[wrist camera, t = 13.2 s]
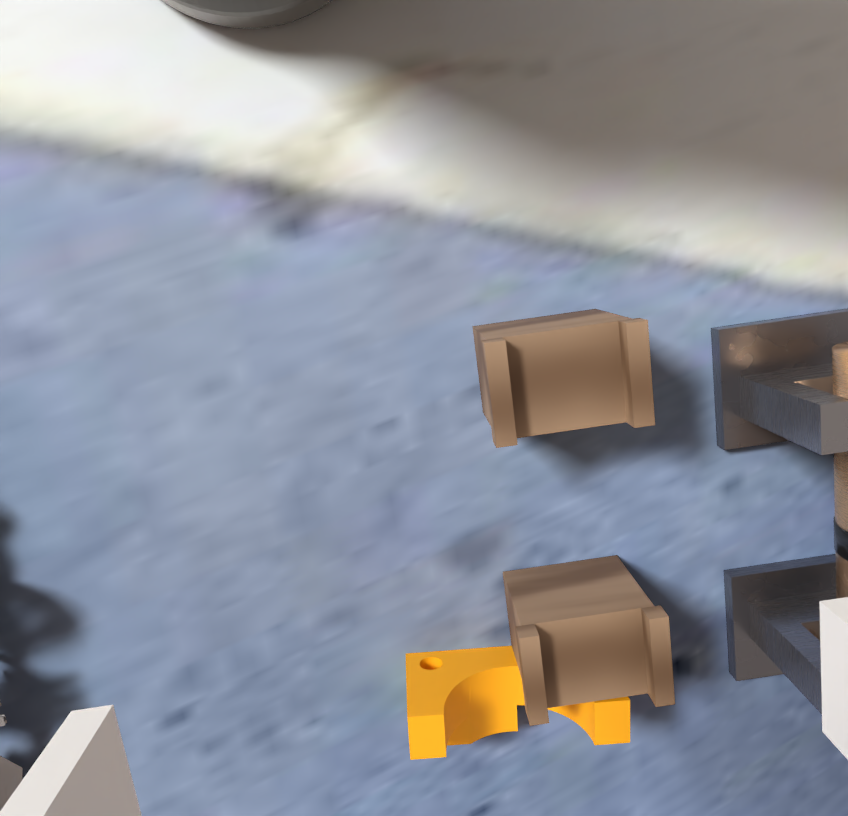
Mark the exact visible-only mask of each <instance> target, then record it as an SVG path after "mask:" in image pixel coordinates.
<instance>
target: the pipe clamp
mask: <svg viewBox="0 0 848 816" xmlns="http://www.w3.org/2000/svg"><path fill="white" fill-rule="evenodd" d="M406 682H407V717H408V731H409V746H410V760H412V759H425V758H438V757H446V748H447V745H460V744H471V743H473V742H475V741H476V740H478V739H481V738H483V737H486V736H489V735H492V734H496V733H501V732H509V731H518V724H517V705H525V701H524V693H523V685H522V678H521V675H520V671H519V668H518V665H517V661H516V658H515V655H514V652H513V648H512V646H502V647H488V648H475V649H461V650H448V651H435V652H421V653H408V654H406ZM547 709H549V710H552V711H555V712H557V713H560V714H562V715H564V716H566V717H568V718H570V719H571V720H573V721H574V722H576V723H577V724H578V725H580V726H581V727H582V728H583V729H584V730H585V731H586V732H587V733H588V734H589V736H590V737H591V739H592V740H593V742H594V744H595V745H603V744H616V743H629V742H630V699H629V697H628V696H627V697H620V698H613V699H606V700H600V701H593V702H586V703H579V704H573V705H566V706H559V707H552V708H547Z"/></svg>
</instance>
